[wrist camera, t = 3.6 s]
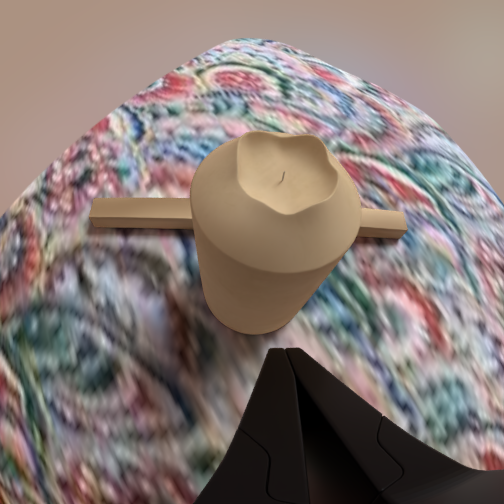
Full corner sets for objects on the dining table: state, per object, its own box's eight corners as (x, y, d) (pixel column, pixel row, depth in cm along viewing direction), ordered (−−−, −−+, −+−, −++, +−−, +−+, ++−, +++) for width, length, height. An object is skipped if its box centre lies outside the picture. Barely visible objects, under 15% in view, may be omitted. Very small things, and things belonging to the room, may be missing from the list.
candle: (182, 286, 17) (145, 158, 8) (251, 225, 19) (275, 84, 10) (256, 357, 16) (304, 298, 7) (321, 286, 18) (407, 172, 9)
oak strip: (399, 238, 20) (407, 230, 19) (94, 227, 18) (88, 217, 17) (395, 221, 20) (402, 212, 19) (99, 208, 19) (94, 198, 17)
